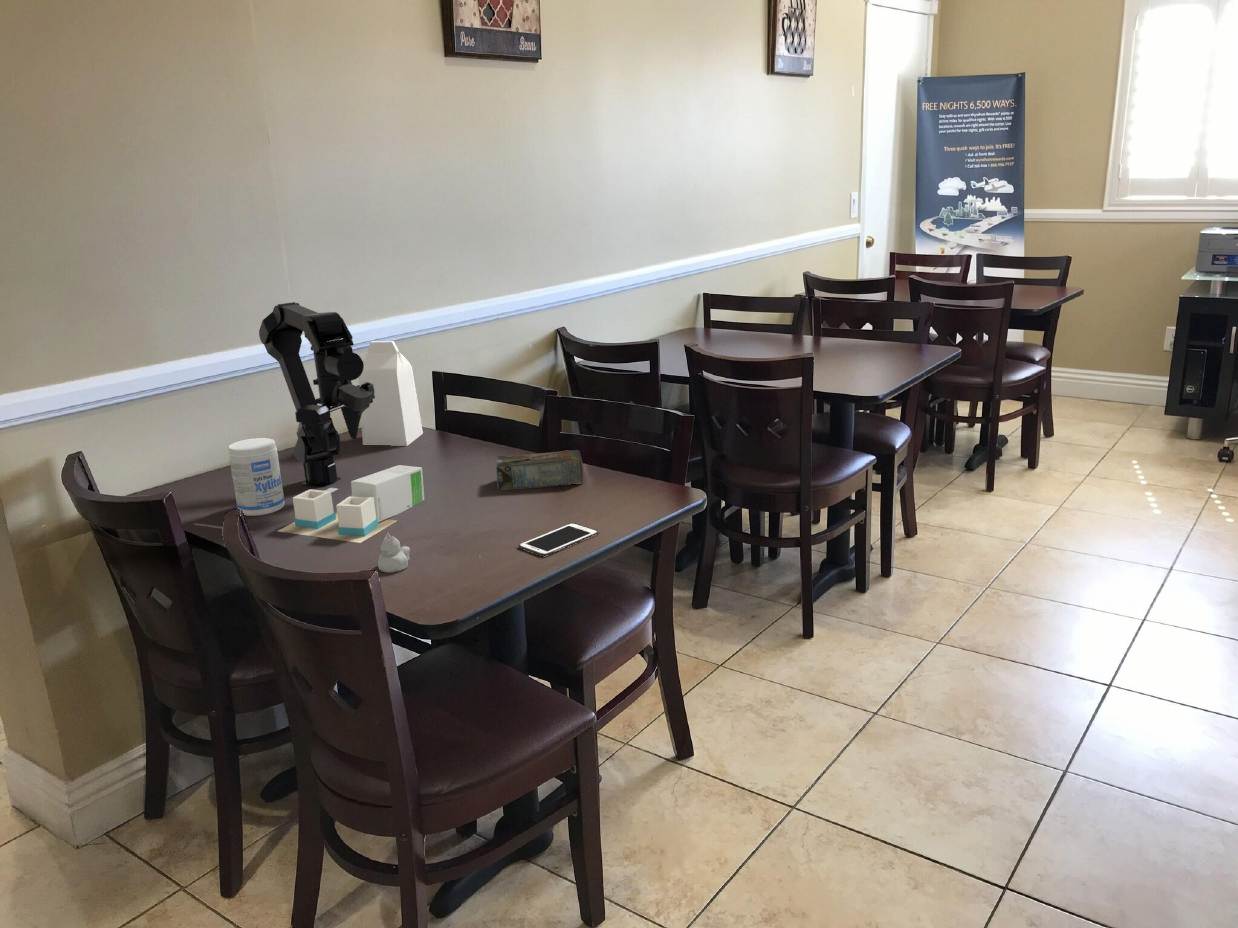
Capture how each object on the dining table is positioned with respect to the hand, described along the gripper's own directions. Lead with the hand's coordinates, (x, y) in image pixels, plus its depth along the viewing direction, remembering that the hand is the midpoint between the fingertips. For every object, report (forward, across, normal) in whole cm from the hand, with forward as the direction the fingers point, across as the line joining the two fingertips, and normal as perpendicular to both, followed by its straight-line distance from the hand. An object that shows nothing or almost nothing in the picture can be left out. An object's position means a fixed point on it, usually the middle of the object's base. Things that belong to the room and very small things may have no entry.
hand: (340, 444), depth 205 cm
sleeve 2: (+11, -18, -17) cm, 27 cm away
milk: (+12, +41, +17) cm, 46 cm away
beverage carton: (+12, +21, -37) cm, 44 cm away
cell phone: (+13, -8, -56) cm, 58 cm away
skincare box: (+8, +2, -16) cm, 18 cm away
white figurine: (+12, -30, -34) cm, 47 cm away
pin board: (+12, -17, -11) cm, 24 cm away
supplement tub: (+12, -12, +13) cm, 21 cm away
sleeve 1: (+11, -17, -6) cm, 21 cm away
